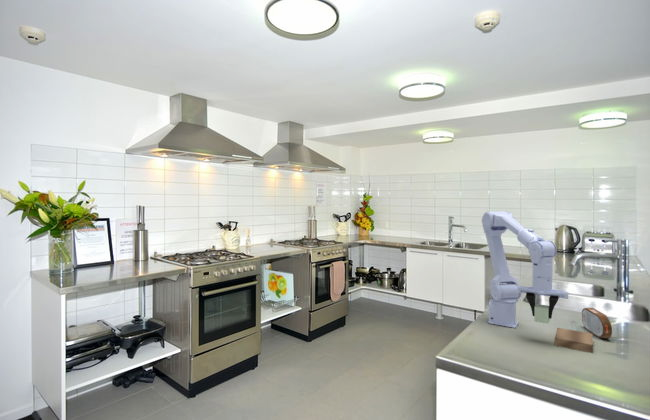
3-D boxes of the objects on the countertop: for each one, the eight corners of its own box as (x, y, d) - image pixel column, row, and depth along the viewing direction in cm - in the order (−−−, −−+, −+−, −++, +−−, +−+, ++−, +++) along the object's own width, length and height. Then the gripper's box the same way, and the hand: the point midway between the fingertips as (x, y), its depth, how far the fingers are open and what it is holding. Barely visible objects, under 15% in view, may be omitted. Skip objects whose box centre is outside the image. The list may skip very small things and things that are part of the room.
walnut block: (554, 346, 117) (554, 337, 117) (557, 335, 126) (557, 327, 126) (592, 354, 111) (592, 344, 111) (592, 342, 120) (592, 333, 120)
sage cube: (534, 321, 120) (534, 306, 120) (535, 318, 123) (535, 303, 123) (548, 323, 117) (548, 308, 117) (549, 320, 120) (549, 305, 120)
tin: (613, 342, 119) (613, 317, 119) (602, 341, 120) (602, 316, 120) (589, 327, 134) (589, 305, 134) (579, 326, 135) (580, 304, 135)
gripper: (516, 275, 121) (516, 315, 121) (567, 281, 112) (567, 324, 112) (519, 272, 127) (519, 310, 127) (568, 277, 118) (568, 318, 118)
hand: (542, 316), depth 120 cm, fingers closed on sage cube, 4 cm apart
